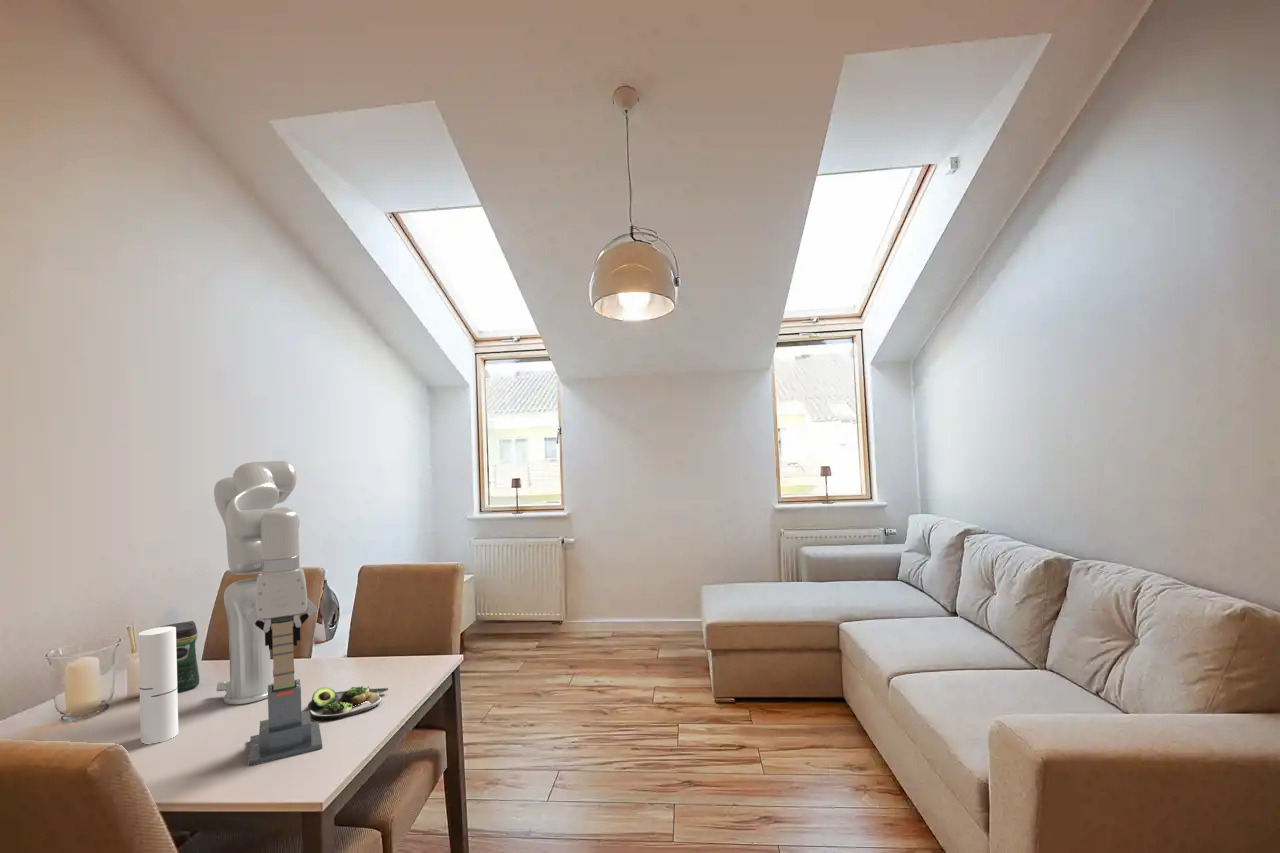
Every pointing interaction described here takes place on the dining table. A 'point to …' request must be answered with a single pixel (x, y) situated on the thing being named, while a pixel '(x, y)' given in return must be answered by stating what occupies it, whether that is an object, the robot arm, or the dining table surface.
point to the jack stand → (284, 728)
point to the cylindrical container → (158, 684)
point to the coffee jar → (186, 655)
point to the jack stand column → (283, 653)
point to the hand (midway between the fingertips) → (283, 645)
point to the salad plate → (341, 702)
